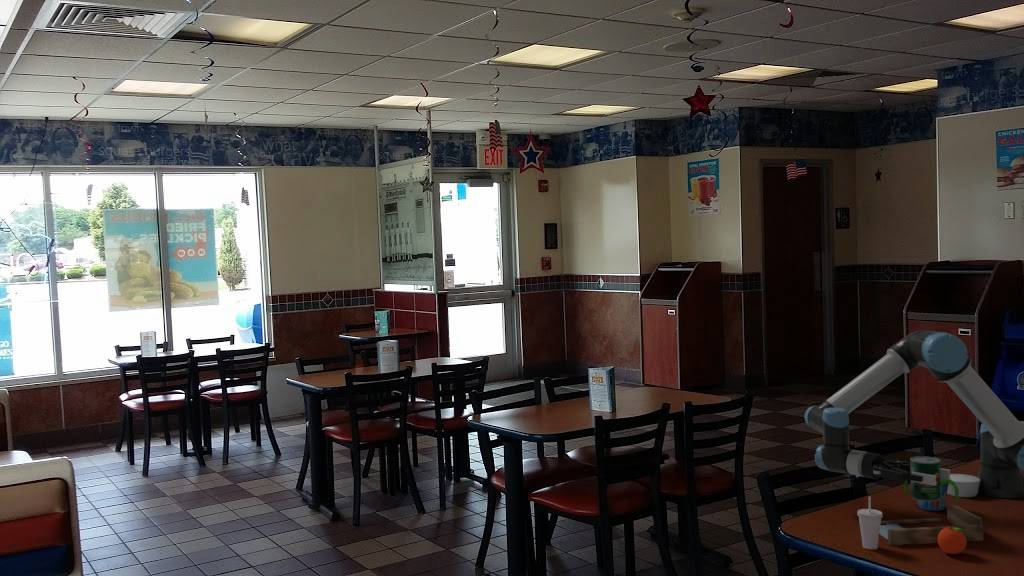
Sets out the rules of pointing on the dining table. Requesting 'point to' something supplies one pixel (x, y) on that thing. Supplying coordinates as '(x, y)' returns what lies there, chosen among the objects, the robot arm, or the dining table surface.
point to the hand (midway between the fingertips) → (942, 477)
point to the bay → (936, 528)
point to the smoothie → (870, 526)
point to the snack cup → (940, 503)
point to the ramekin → (964, 485)
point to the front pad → (885, 528)
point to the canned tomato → (926, 467)
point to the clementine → (952, 540)
